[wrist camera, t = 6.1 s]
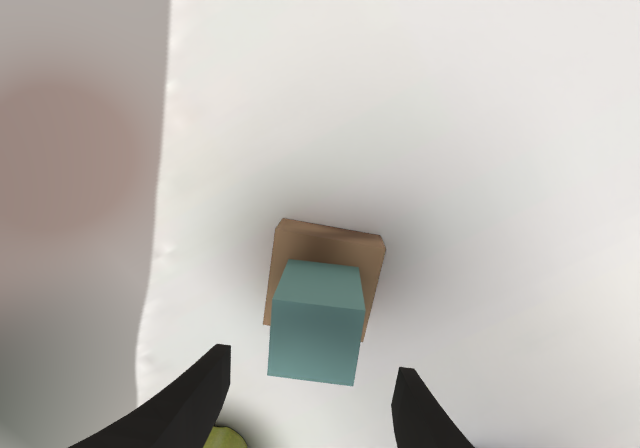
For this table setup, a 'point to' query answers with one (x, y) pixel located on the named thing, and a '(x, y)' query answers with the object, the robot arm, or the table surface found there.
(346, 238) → the walnut slab
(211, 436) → the plant pot
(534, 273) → the table surface
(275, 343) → the teal cube
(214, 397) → the robot arm
